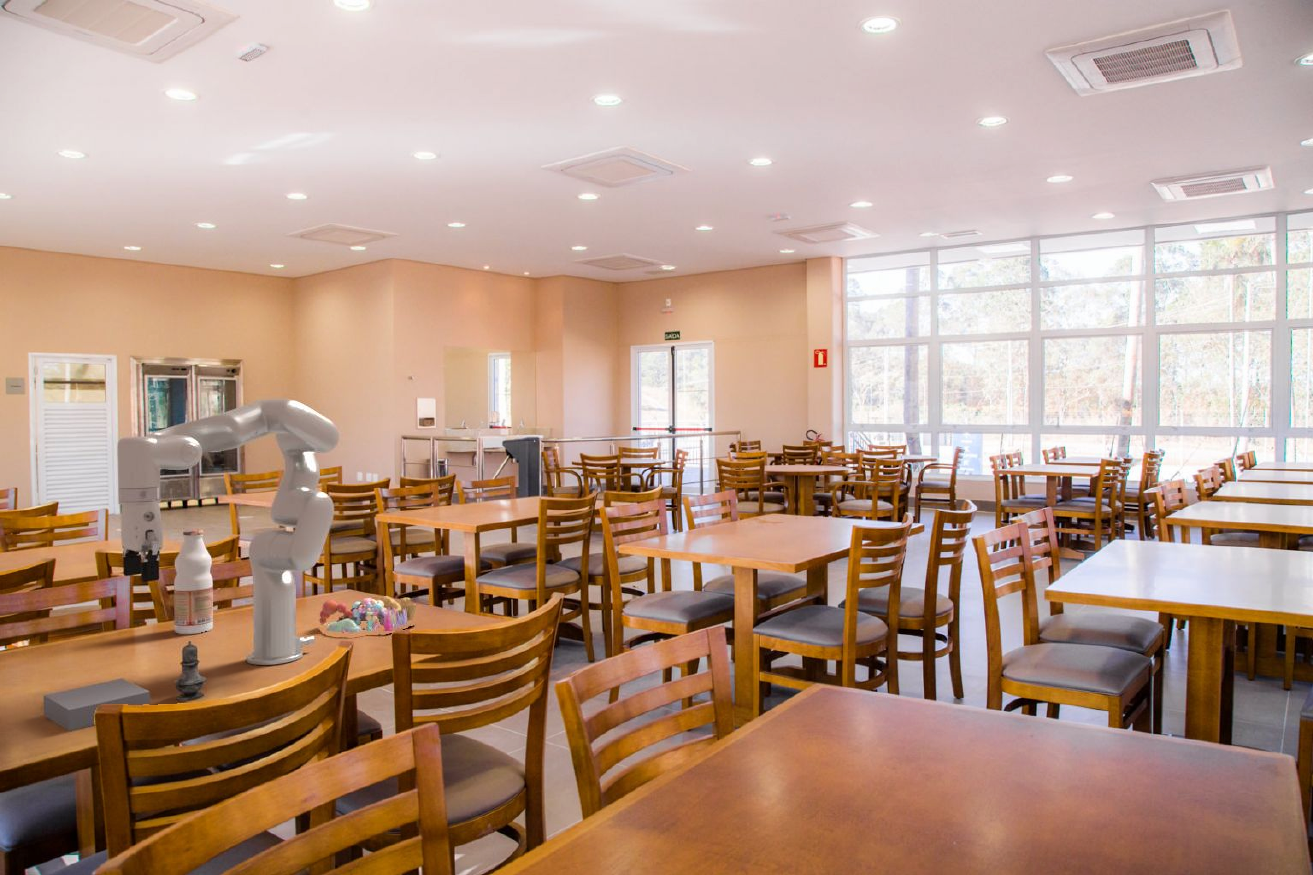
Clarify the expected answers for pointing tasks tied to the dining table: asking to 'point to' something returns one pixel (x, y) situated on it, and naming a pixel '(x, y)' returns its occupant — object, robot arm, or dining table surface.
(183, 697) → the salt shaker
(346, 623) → the candy landscape model
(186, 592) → the fruit juice
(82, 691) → the stand
